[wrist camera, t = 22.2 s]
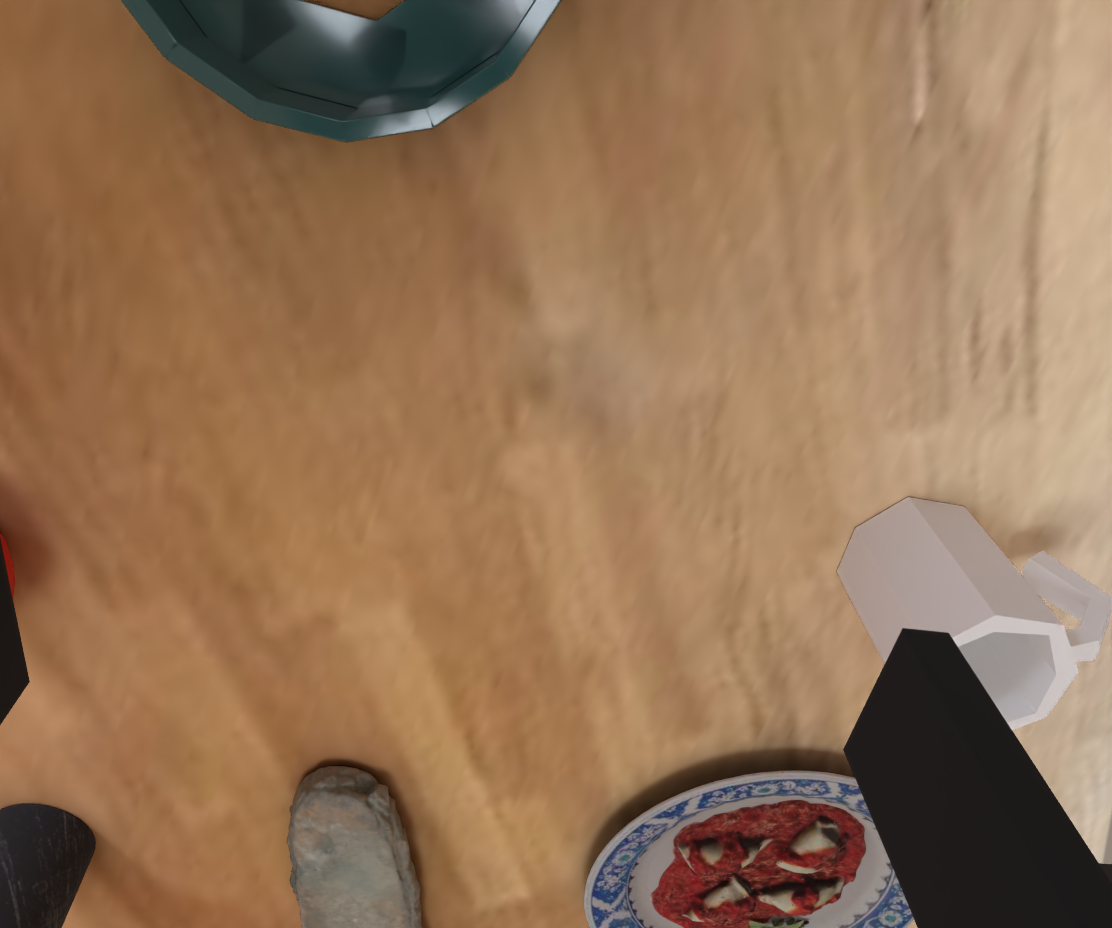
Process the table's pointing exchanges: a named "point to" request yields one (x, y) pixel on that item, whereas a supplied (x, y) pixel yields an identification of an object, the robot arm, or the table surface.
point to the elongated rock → (350, 854)
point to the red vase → (8, 563)
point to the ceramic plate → (750, 860)
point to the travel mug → (40, 864)
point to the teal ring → (345, 58)
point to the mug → (974, 602)
